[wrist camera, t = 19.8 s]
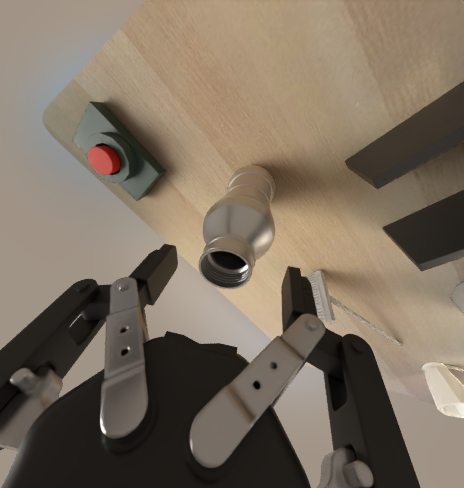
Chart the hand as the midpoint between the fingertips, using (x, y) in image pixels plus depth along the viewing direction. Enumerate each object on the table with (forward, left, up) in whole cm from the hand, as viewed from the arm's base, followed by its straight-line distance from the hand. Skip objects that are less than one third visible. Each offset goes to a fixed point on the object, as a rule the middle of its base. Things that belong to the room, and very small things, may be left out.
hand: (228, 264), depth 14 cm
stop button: (-2, -21, -16) cm, 26 cm away
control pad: (-2, -21, -19) cm, 29 cm away
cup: (+35, +48, -19) cm, 62 cm away
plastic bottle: (0, 0, -19) cm, 19 cm away
